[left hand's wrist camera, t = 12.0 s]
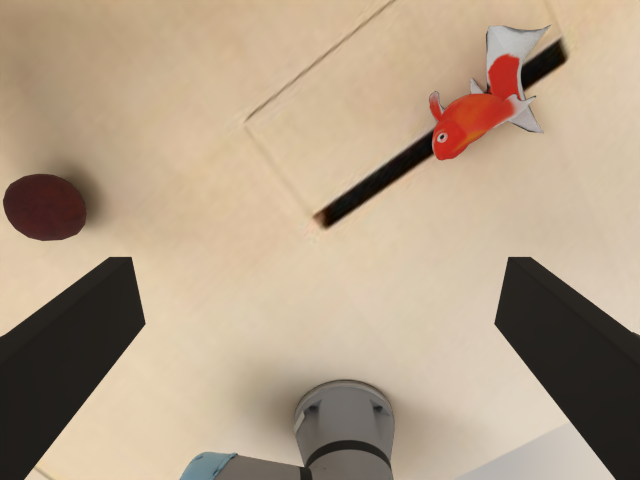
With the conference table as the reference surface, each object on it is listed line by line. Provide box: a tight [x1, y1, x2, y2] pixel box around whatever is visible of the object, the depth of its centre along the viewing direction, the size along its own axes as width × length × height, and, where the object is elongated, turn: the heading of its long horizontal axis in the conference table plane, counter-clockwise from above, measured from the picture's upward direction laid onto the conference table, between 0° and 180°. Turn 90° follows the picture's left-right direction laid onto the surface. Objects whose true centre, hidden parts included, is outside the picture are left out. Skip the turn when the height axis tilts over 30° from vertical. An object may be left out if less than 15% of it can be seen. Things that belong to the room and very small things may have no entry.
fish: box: [429, 24, 552, 161], centre depth 35 cm, size 11×16×10 cm
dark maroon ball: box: [3, 174, 86, 241], centre depth 40 cm, size 7×8×7 cm
